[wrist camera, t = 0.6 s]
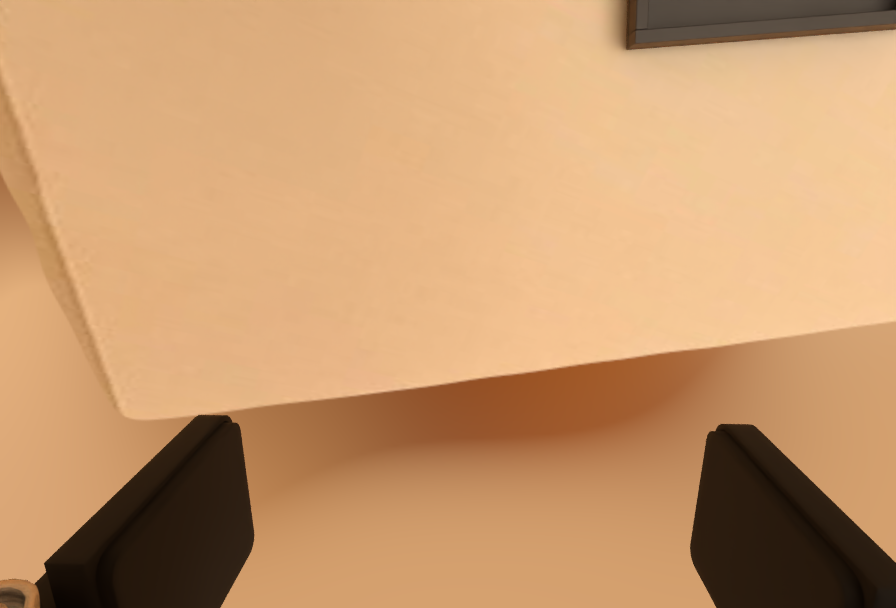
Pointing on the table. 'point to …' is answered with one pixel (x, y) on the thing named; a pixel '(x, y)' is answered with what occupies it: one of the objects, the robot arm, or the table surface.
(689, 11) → the tray
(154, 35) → the table surface
